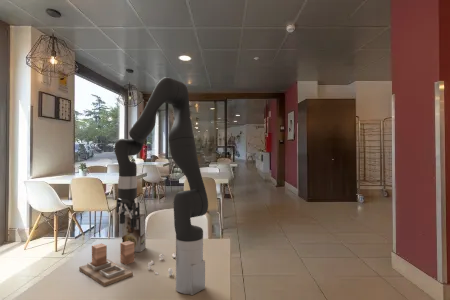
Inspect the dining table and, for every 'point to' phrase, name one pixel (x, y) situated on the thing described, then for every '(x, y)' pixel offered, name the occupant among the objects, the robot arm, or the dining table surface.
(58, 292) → the dining table surface
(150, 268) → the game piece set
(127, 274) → the board
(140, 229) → the coffee box
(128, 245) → the pin
